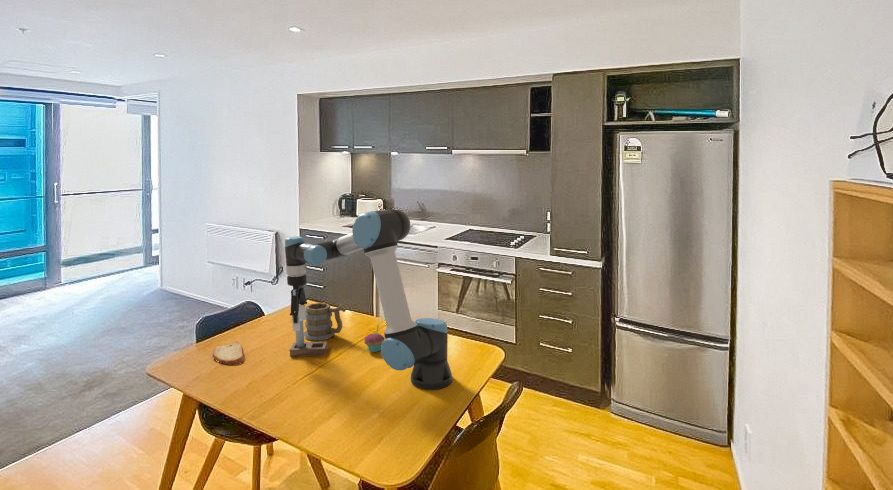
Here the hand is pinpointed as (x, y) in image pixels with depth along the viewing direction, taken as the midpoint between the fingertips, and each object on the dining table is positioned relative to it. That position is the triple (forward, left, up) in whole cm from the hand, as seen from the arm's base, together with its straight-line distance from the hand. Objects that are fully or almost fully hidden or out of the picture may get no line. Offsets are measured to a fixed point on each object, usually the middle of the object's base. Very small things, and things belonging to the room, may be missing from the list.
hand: (299, 325), depth 205 cm
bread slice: (0, +28, -13) cm, 31 cm away
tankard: (+19, -8, -13) cm, 24 cm away
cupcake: (0, -30, -12) cm, 33 cm away
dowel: (0, 0, -12) cm, 12 cm away
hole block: (0, -3, -12) cm, 13 cm away
